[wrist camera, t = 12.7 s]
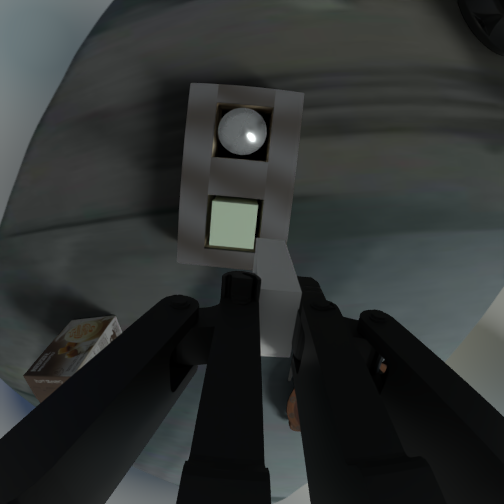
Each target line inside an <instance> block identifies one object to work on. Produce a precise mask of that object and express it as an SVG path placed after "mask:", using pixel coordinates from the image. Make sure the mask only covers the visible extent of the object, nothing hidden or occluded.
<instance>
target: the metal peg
mask: <svg viewBox="0 0 504 504" xmlns="http://www.w3.org/2000/svg"><path fill="white" fill-rule="evenodd" d="M266 135H267V127H266V124H265V121H264V119H263V118H262V117H261V115H260V114H258V113H257V112H256V111H254V110H252V109H249V108H237V109H233V110H231V111H229V112H228V113H227V114H225V115H224V117H223V118H222V119H221V121H220V123H219V127H218V136H219V140H220V142H221V144H222V145H223V146H224V147H225V148H226V149H227V150H228V151H230V152H232V153H234V154H238V155H247V154H251V153H253V152H255V151H256V150H258V149H259V148H260V147H261V146H262V145H263V143H264V141H265V139H266Z"/></svg>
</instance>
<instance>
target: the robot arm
mask: <svg viewBox="0 0 504 504" xmlns="http://www.w3.org/2000/svg"><path fill="white" fill-rule="evenodd" d="M458 3H459V7H460V10H461V12H462V14H463V17H464V19H465V21H466V22H467V24H468V26H469V27H470V29H471V30H472V31H473V33H474V34H475V35H476V37H477V38H478V39H479V40H480V41H481V42H482V43H483V44H484V45H485V46H486V47H488V48H489V49H490V50H492V51H493V52H495V53H497V54H499V55H503V56H504V0H458ZM292 348H293V358H292V362H291V367H290V372H289V377H288V381H291V378H292V377H293V381H294V388H295V394H296V401H297V408H298V415H299V422H300V429H301V436H302V443H303V450H304V457H305V464H306V472H307V479H308V487H309V494H310V501H311V504H504V417H503V416H502V415H501V414H500V413H499V412H498V411H497V410H496V409H495V408H494V407H493V406H492V405H491V404H490V403H489V402H487V401H486V400H485V399H484V398H483V397H482V396H481V395H480V394H479V393H478V392H477V391H475V390H474V389H473V388H472V387H471V386H470V385H469V384H468V383H467V382H466V381H464V380H463V379H462V378H461V377H460V376H459V375H458V374H457V373H456V372H455V371H454V370H452V369H451V368H450V367H449V366H448V365H447V364H446V363H445V362H443V361H442V360H441V359H440V358H439V357H438V356H437V355H436V354H434V353H433V352H432V351H431V350H430V349H429V348H428V347H426V346H425V345H424V344H423V343H422V342H421V341H420V340H418V339H417V338H416V337H415V336H414V335H413V334H411V333H410V332H409V331H408V330H407V329H406V328H404V327H403V326H402V325H401V324H400V323H399V322H397V321H396V320H395V319H394V318H393V317H391V316H390V315H388V314H386V313H384V312H383V311H380V310H366V311H363V312H362V313H361V314H360V318H359V320H355V319H350V318H346V317H343V316H342V314H341V312H340V310H339V308H338V307H337V306H336V304H334V303H332V302H330V301H327V300H326V299H325V296H324V294H323V293H322V290H321V288H320V286H319V283H318V282H317V281H315V280H314V279H313V278H311V277H299V276H296V273H295V270H294V267H293V264H292V261H291V258H290V255H289V252H288V249H287V246H286V243H285V241H284V240H274V239H264V238H256V247H255V256H254V265H253V273H250V272H244V271H232V272H227V273H225V274H224V275H223V276H222V287H221V299H220V303H219V304H218V305H216V306H212V307H207V308H199V303H198V301H197V300H195V299H194V298H191V297H188V296H183V295H172V296H168V297H165V298H164V299H162V300H161V301H159V302H158V303H157V304H156V305H155V306H153V307H152V308H151V309H150V310H149V311H147V312H146V313H145V314H144V315H143V316H141V317H140V318H139V319H138V320H137V321H135V322H134V323H133V324H132V325H131V326H130V327H128V328H127V329H126V330H125V331H124V332H122V333H121V334H120V335H119V336H118V337H117V338H115V339H114V340H113V341H112V342H111V343H109V344H108V345H107V346H106V347H105V348H104V349H102V350H101V351H100V352H99V353H98V354H97V355H95V356H94V357H93V358H92V359H91V360H90V361H88V362H87V363H86V364H85V365H84V366H83V367H81V368H80V369H79V370H78V371H77V372H76V373H75V374H73V375H72V376H71V377H70V378H69V379H68V380H66V381H65V382H64V383H63V384H62V385H61V386H60V387H58V388H57V389H56V390H55V391H54V392H53V393H52V394H50V395H49V396H48V397H47V398H46V399H45V400H44V401H42V402H41V403H40V404H39V405H38V406H37V407H36V408H35V409H33V410H32V411H31V412H30V413H29V414H28V415H27V416H26V417H24V418H23V419H22V420H21V421H20V422H19V423H18V424H17V425H15V426H14V427H13V428H12V429H11V430H10V431H9V432H8V433H7V434H5V435H4V436H3V437H2V438H1V439H0V504H105V503H106V501H107V500H108V499H109V497H110V496H111V494H112V493H113V492H114V490H115V489H116V487H117V486H118V484H119V483H120V482H121V480H122V479H123V477H124V476H125V475H126V473H127V472H128V470H129V469H130V467H131V466H132V465H133V463H134V462H135V460H136V459H137V457H138V456H139V455H140V453H141V452H142V450H143V449H144V447H145V446H146V445H147V443H148V442H149V440H150V439H151V437H152V436H153V434H154V433H155V432H156V430H157V429H158V427H159V426H160V424H161V423H162V421H163V420H164V418H165V417H166V416H167V414H168V413H169V411H170V410H171V408H172V407H173V405H174V404H175V402H176V401H177V399H178V398H179V396H180V395H181V394H182V392H183V391H184V389H185V388H186V386H187V385H188V383H189V382H190V380H191V379H192V377H193V376H194V374H195V373H196V371H197V368H198V365H201V364H207V368H206V373H205V378H204V383H203V388H202V393H201V399H200V404H199V409H198V414H197V419H196V425H195V430H194V435H193V441H192V446H191V452H190V456H189V460H188V461H185V464H184V467H183V471H182V475H181V481H180V486H179V491H178V497H177V502H176V504H271V490H270V475H269V470H268V468H265V463H264V434H263V404H262V374H261V356H270V357H286V358H290V354H291V349H292ZM383 358H384V359H385V360H386V362H387V363H388V365H387V368H386V371H385V372H382V371H381V370H380V367H381V364H382V361H383Z"/></svg>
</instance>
